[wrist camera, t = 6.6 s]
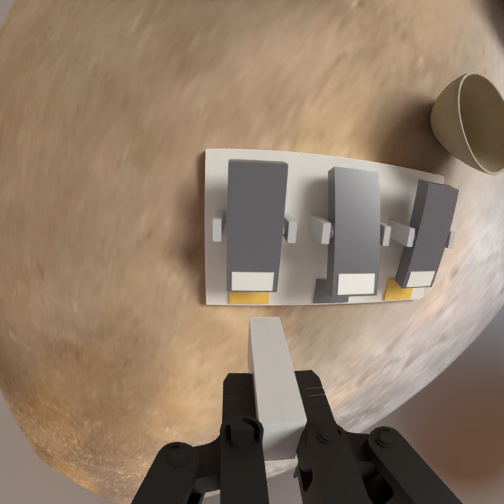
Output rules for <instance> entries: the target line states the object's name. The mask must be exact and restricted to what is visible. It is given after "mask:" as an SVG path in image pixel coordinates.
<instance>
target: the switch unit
mask: <svg viewBox="0 0 504 504" xmlns="http://www.w3.org/2000/svg"><path fill="white" fill-rule="evenodd" d="M229 159H241V160H266V161H283V162H286V163H287V164H288V177H287V190H286V202H285V214H284V224H285V234H284V236H282V247H281V257H280V267H279V277H278V287H277V292H227V235H224V222H225V221H227V193H228V161H229ZM333 167H343V168H351V169H359V170H366V171H373V172H379V185H380V256H379V274H378V288H377V296H354V297H331V296H329V295H328V294H326V278H327V256H328V244H329V238H330V229H331V223H330V222H328V171H329V170H330V169H332V168H333ZM418 179H421V180H426V181H431V182H436V183H440V184H444V176H441V175H437V174H432V173H428V172H424V171H419V170H415V169H410V168H405V167H400V166H395V165H389V164H384V163H378V162H372V161H365V160H359V159H352V158H344V157H337V156H328V155H319V154H309V153H299V152H286V151H271V150H250V149H206V160H205V283H206V305H324V304H350V303H369V302H386V301H400V300H413V299H422V298H423V294H424V291H425V287H422V288H405V289H402V288H401V287H400V286H399V285H398V283H397V282H396V281H395V276H396V273H397V270H398V266H399V263H400V260H401V256H402V252H403V249H404V245H405V246H407V247H412V245H413V239H414V233H415V228H412V227H410V226H409V224H410V220H411V216H412V211H413V206H414V201H415V196H416V190H417V185H418ZM454 235H455V232H453V231H451V230H450V231H449V235H448V238H447V242H446V245H445V247H446V248H452V245H453V240H454Z"/></svg>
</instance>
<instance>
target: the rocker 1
mask: <svg viewBox="0 0 504 504" xmlns="http://www.w3.org/2000/svg"><path fill="white" fill-rule="evenodd" d="M287 177H288V164H287V163H286V162H283V161H266V160H241V159H229V161H228V193H227V221H225V222H224V235H227V292H277V287H278V277H279V267H280V257H281V247H282V236H284V234H285V224H284V214H285V202H286V190H287Z"/></svg>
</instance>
